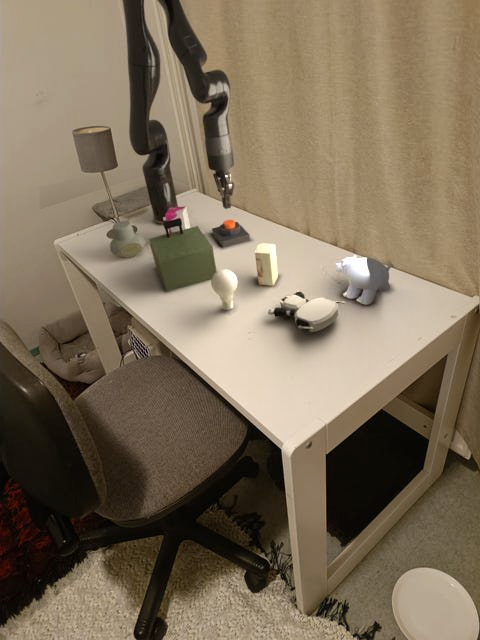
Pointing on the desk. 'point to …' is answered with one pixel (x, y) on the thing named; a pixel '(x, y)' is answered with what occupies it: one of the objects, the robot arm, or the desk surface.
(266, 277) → the cream cardboard box
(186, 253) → the green handled lid
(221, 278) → the lightbulb
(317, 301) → the robot toy
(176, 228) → the supplement box
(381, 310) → the desk surface
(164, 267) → the green box
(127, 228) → the air freshener
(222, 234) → the control block
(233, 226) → the release button
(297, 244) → the desk surface
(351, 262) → the white animal-shaped figure
